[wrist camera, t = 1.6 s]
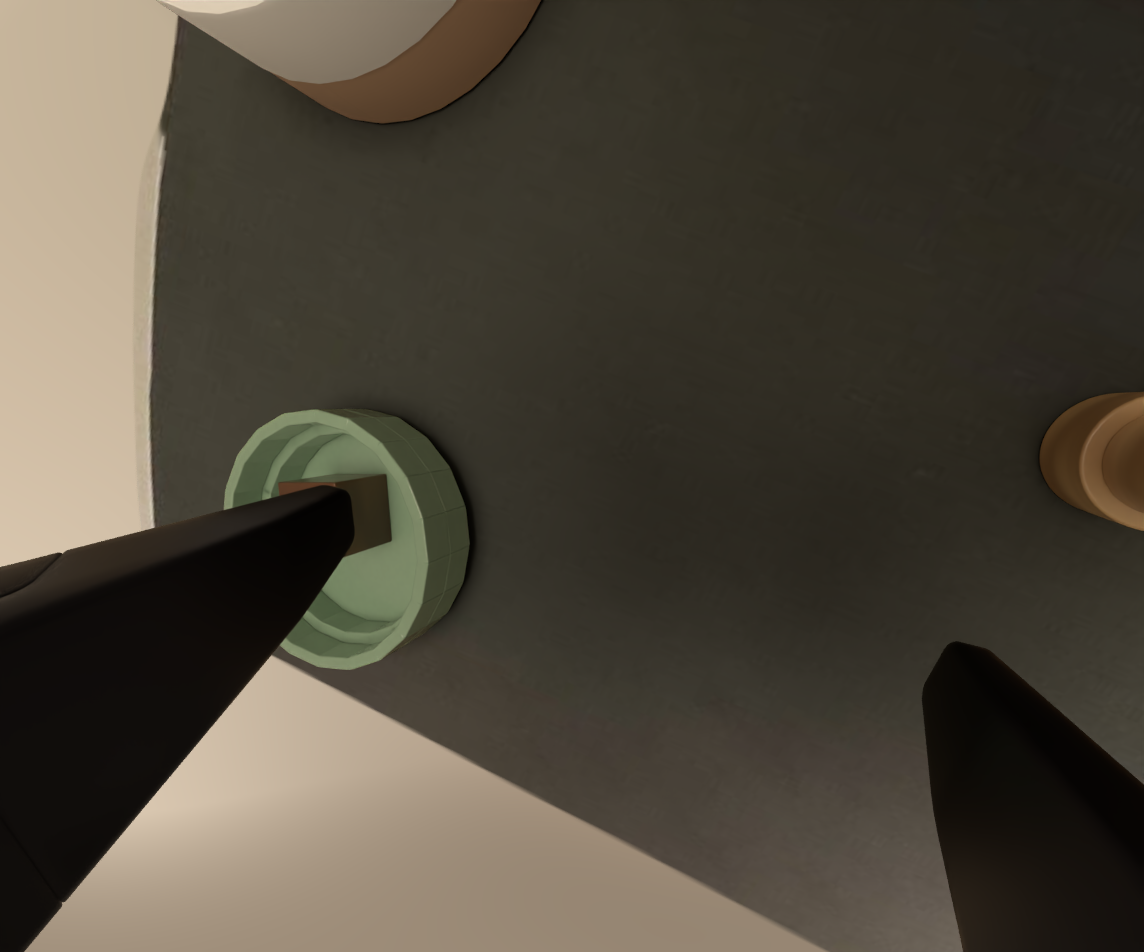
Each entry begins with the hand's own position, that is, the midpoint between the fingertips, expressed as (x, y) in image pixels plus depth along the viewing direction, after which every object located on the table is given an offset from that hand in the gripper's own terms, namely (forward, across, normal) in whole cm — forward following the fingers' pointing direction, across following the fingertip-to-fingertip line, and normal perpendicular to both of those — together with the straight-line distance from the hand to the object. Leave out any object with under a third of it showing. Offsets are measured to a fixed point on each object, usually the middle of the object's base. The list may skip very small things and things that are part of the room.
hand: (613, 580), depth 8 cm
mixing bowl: (+15, +15, +12) cm, 24 cm away
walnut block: (+14, +15, +11) cm, 24 cm away
